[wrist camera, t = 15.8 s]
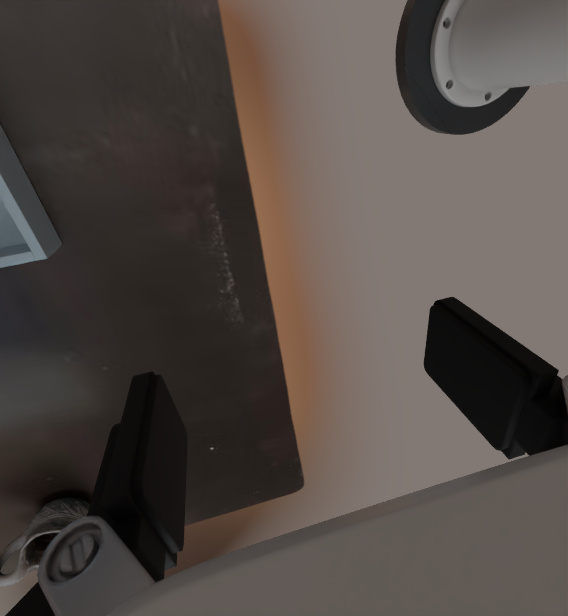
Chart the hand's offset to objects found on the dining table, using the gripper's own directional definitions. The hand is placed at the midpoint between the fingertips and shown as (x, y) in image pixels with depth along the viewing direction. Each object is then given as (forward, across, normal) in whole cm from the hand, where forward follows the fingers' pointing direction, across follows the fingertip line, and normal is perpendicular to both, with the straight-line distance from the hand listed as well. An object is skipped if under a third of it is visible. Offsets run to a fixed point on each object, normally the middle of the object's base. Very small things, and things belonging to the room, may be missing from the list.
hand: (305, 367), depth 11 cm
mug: (+31, +39, +45) cm, 67 cm away
